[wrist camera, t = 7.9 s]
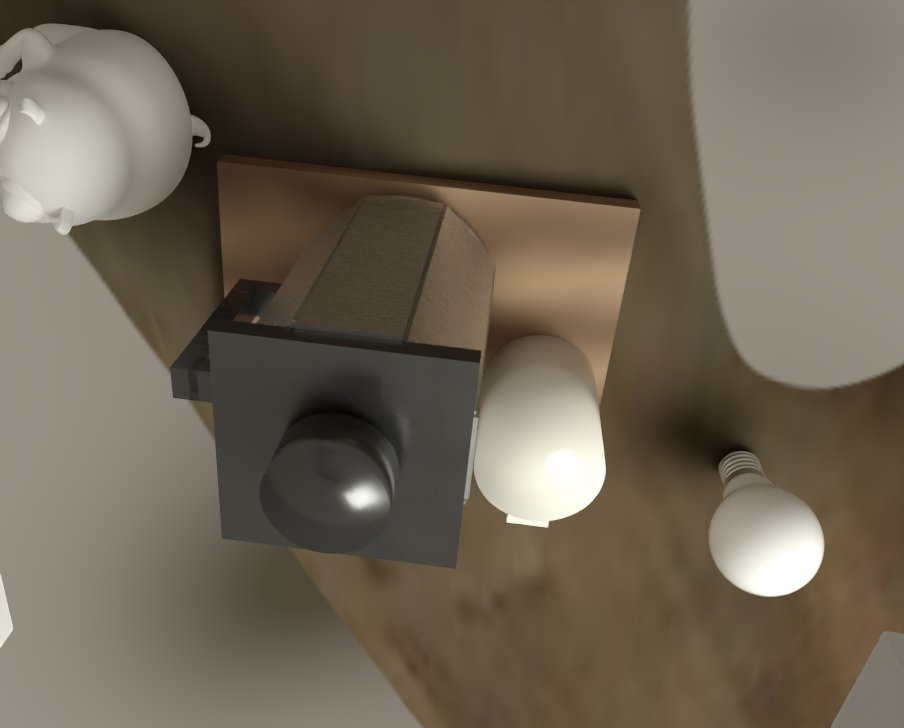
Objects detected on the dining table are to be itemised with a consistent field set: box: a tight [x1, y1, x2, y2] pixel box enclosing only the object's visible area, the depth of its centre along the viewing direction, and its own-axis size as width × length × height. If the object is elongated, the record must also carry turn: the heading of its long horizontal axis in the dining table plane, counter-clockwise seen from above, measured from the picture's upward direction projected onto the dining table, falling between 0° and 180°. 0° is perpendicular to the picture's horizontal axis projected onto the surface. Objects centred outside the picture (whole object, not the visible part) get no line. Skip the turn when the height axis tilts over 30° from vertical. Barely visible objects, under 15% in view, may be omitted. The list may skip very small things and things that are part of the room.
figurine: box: [0, 24, 211, 235], centre depth 42 cm, size 10×10×12 cm
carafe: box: [170, 193, 496, 569], centre depth 42 cm, size 11×14×18 cm
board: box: [217, 154, 641, 430], centre depth 51 cm, size 16×24×2 cm, turn 85°
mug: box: [474, 335, 606, 527], centre depth 48 cm, size 9×7×9 cm
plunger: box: [259, 413, 399, 554], centre depth 39 cm, size 8×8×18 cm
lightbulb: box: [708, 451, 824, 597], centre depth 50 cm, size 6×6×11 cm
